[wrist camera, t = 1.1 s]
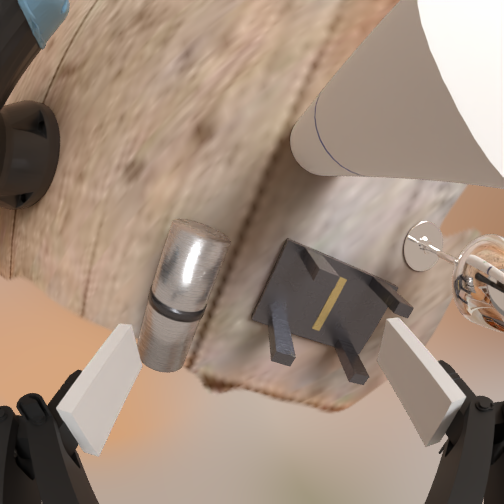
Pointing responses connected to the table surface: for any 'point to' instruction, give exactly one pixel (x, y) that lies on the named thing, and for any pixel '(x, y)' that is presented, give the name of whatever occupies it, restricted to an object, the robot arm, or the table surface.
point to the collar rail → (324, 306)
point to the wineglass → (465, 272)
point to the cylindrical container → (415, 99)
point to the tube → (180, 293)
